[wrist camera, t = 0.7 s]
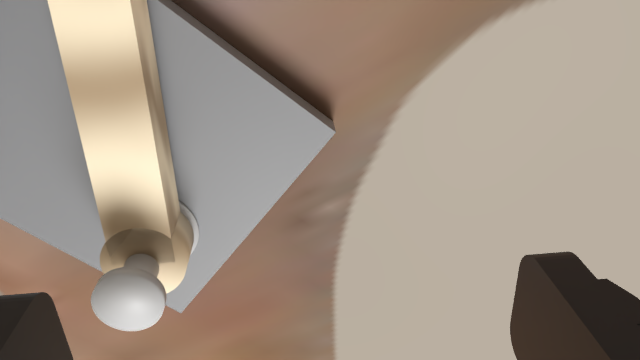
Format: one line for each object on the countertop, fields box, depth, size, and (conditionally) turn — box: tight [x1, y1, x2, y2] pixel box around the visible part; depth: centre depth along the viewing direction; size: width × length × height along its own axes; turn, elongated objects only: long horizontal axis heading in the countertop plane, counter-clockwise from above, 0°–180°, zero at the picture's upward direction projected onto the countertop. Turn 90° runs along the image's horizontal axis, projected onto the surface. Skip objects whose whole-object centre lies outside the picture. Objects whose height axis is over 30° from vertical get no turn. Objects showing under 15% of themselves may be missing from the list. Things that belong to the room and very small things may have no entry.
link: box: [47, 0, 194, 294], centre depth 23 cm, size 18×4×2 cm, turn 1°
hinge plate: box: [0, 0, 336, 331], centre depth 22 cm, size 24×14×7 cm, turn 51°
